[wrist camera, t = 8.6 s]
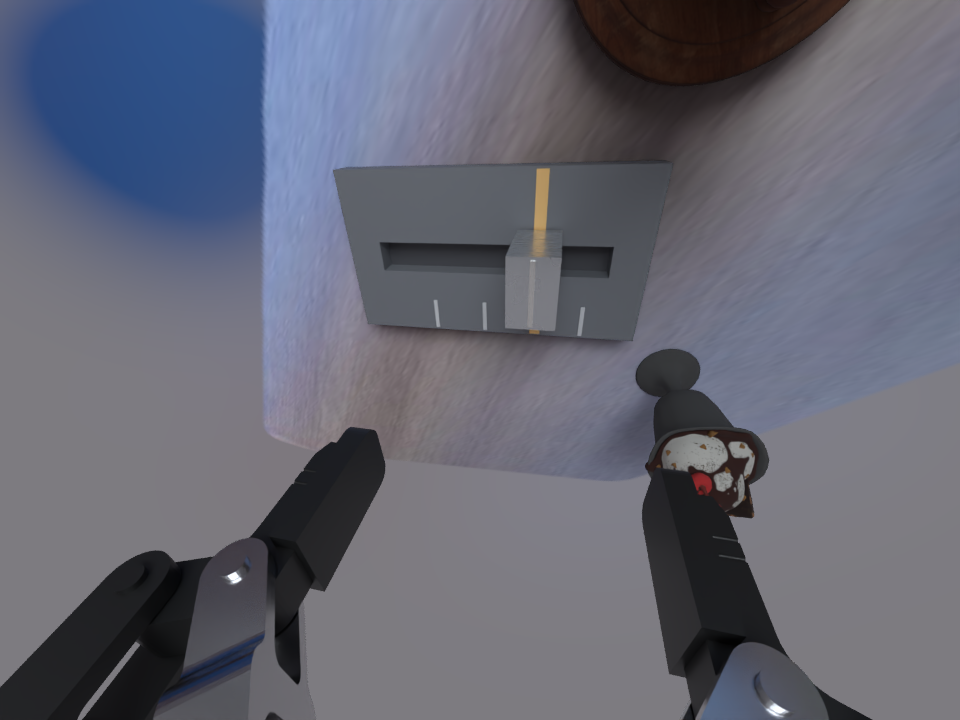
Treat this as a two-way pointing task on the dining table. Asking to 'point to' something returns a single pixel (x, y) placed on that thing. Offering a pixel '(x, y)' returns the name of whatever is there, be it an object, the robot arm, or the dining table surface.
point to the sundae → (699, 434)
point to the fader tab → (533, 279)
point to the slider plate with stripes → (502, 240)
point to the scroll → (699, 34)
